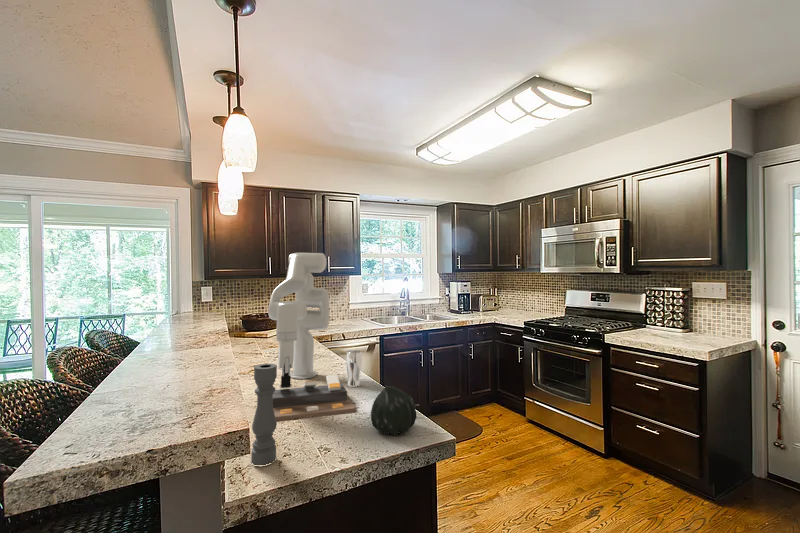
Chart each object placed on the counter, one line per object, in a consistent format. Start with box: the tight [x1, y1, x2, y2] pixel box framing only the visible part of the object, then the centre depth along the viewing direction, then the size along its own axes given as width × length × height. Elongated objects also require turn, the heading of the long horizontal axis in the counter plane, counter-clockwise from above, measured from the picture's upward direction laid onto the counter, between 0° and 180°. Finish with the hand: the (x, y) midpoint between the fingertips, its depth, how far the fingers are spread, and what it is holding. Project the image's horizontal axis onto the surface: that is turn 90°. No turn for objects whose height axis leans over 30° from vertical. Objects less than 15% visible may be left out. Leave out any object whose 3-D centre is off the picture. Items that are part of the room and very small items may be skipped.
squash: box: [370, 385, 418, 436], centre depth 118 cm, size 14×15×15 cm
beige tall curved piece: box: [345, 349, 363, 388], centre depth 165 cm, size 7×7×15 cm
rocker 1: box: [278, 383, 293, 390], centre depth 138 cm, size 8×4×2 cm, turn 20°
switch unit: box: [273, 383, 357, 422], centre depth 139 cm, size 22×30×6 cm
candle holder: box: [250, 363, 278, 465], centre depth 98 cm, size 6×6×25 cm
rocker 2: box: [302, 380, 318, 388], centre depth 142 cm, size 8×4×1 cm, turn 21°
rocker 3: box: [325, 374, 341, 391], centre depth 144 cm, size 8×4×2 cm, turn 19°
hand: (285, 386), depth 135 cm, fingers closed
